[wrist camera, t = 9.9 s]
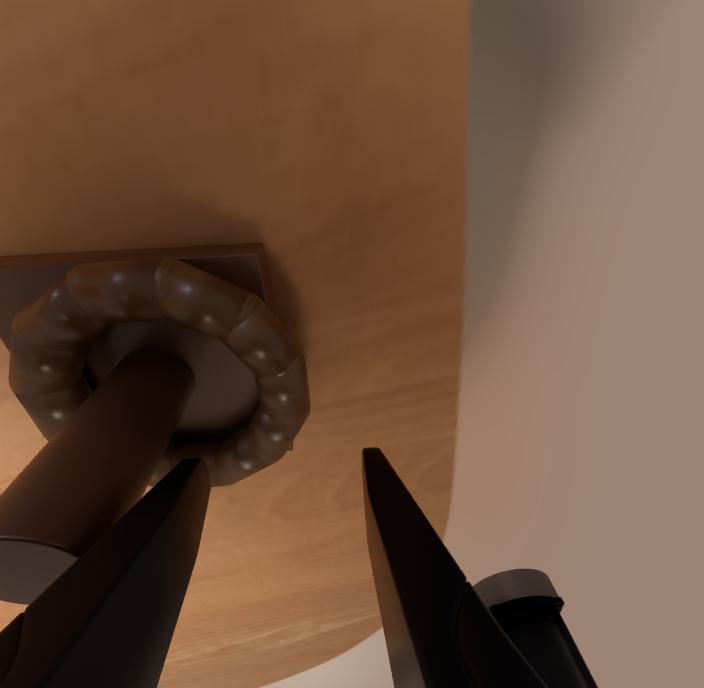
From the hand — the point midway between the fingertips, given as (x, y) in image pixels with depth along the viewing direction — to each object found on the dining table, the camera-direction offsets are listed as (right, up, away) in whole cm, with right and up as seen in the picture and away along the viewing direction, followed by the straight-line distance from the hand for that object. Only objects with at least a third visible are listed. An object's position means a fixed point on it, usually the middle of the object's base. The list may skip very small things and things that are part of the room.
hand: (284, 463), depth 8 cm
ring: (-4, +1, +2) cm, 5 cm away
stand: (-5, +2, +4) cm, 7 cm away
